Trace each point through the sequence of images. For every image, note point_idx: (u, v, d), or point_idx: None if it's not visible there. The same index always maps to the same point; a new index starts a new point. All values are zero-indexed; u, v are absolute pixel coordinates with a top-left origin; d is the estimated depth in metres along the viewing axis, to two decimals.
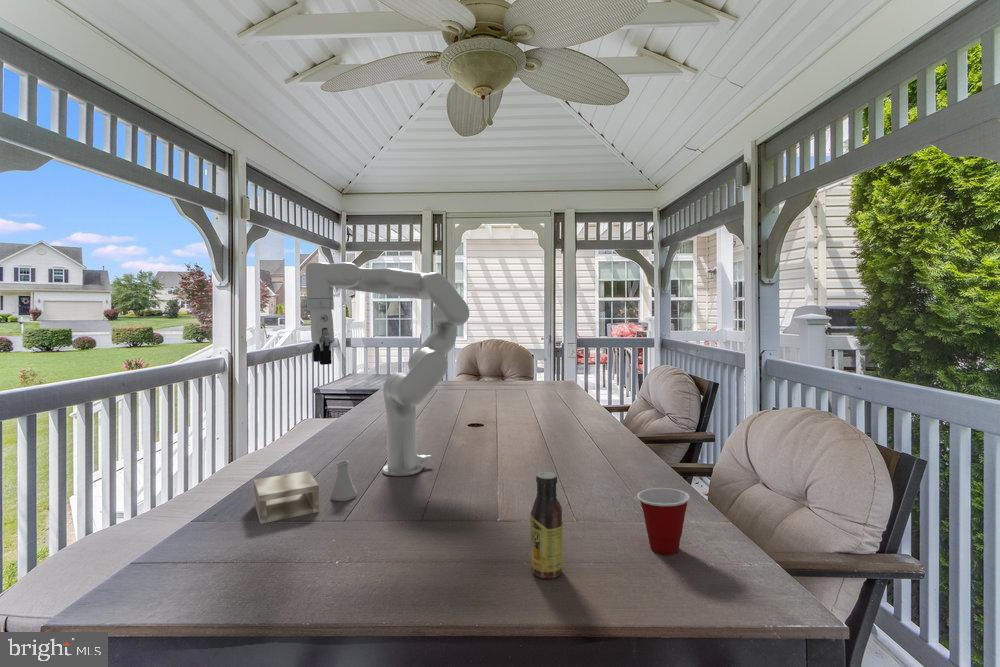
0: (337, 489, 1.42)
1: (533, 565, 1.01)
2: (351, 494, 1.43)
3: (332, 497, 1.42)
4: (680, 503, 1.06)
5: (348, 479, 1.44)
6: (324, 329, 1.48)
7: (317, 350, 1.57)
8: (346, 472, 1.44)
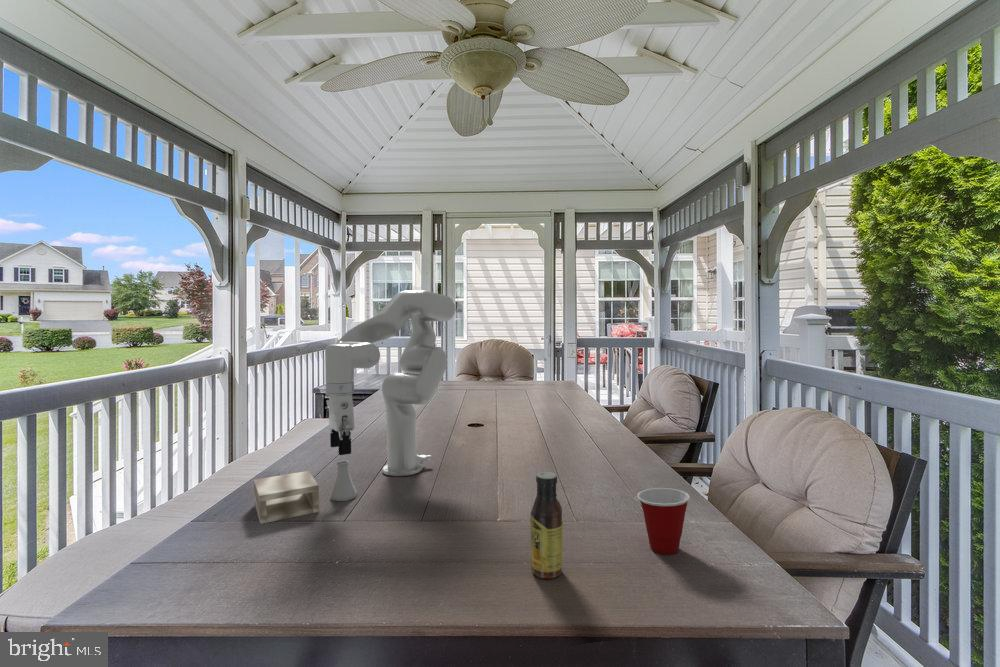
0: (337, 489, 1.42)
1: (533, 565, 1.01)
2: (351, 494, 1.43)
3: (332, 497, 1.42)
4: (680, 503, 1.06)
5: (348, 479, 1.44)
6: (344, 417, 1.39)
7: (335, 435, 1.47)
8: (346, 472, 1.44)
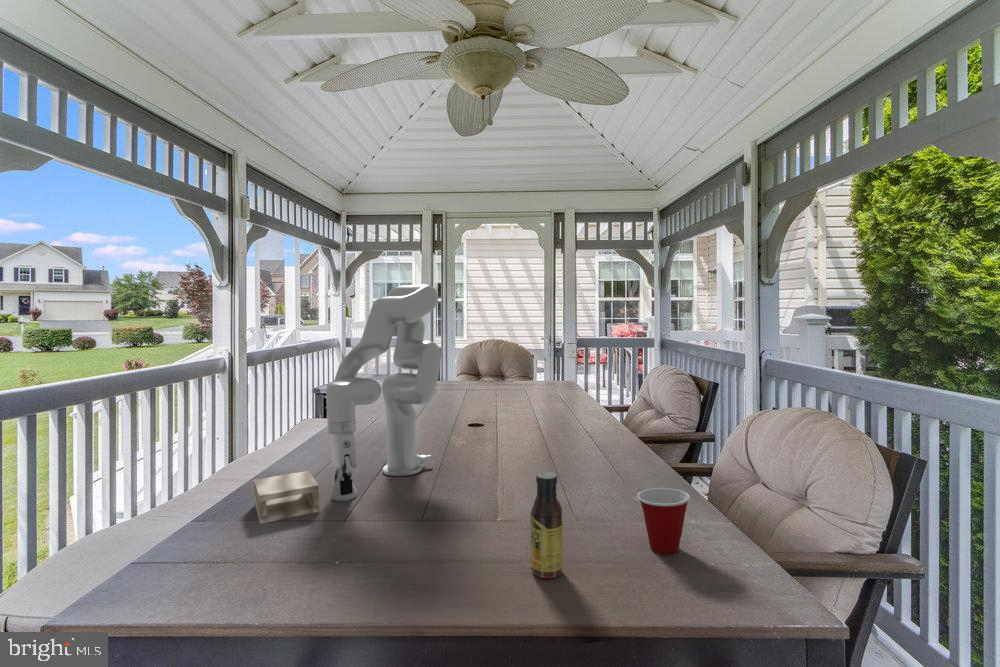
0: (337, 489, 1.42)
1: (533, 565, 1.01)
2: (351, 494, 1.43)
3: (332, 497, 1.42)
4: (680, 503, 1.06)
5: None
6: (346, 458, 1.40)
7: None
8: None
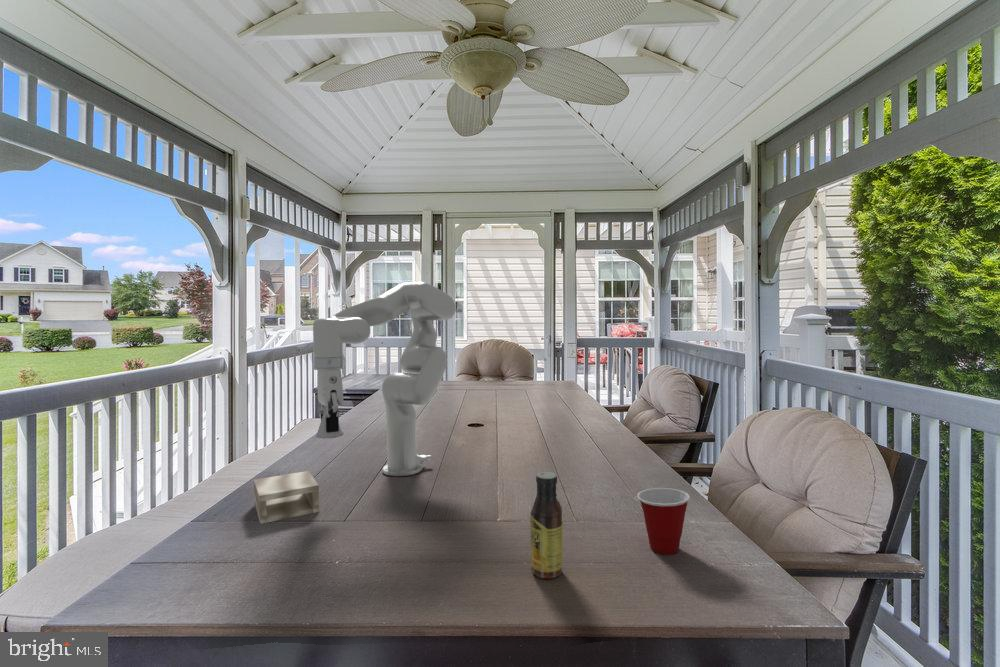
0: (323, 427, 1.40)
1: (533, 565, 1.01)
2: (337, 432, 1.40)
3: (318, 435, 1.40)
4: (680, 503, 1.06)
5: None
6: (333, 394, 1.37)
7: None
8: None
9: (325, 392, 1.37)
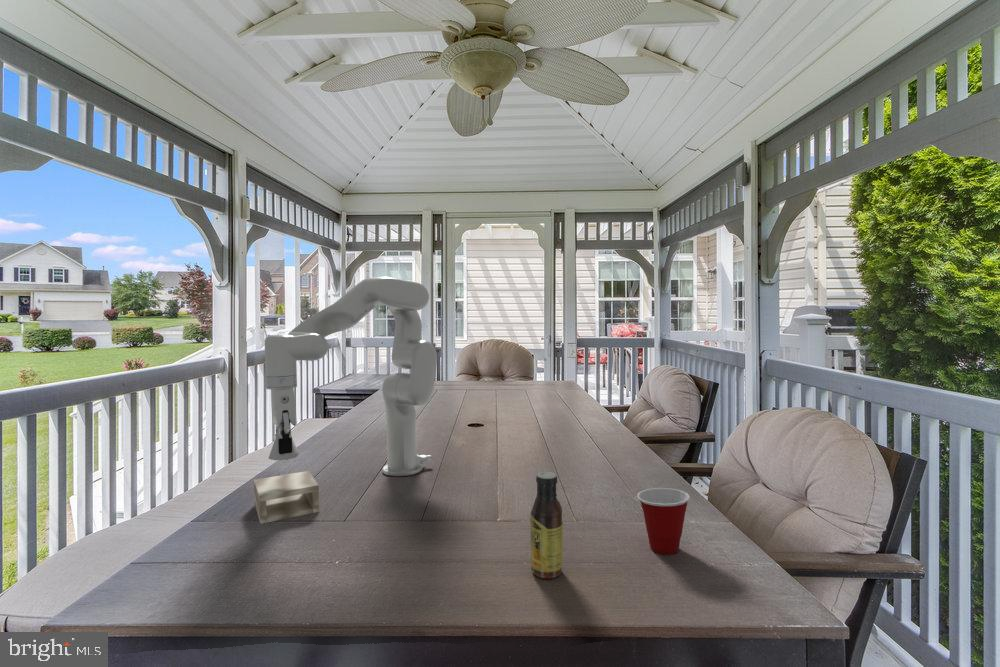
0: (276, 448, 1.34)
1: (533, 565, 1.01)
2: (291, 454, 1.35)
3: (270, 456, 1.34)
4: (680, 503, 1.06)
5: None
6: (284, 414, 1.31)
7: None
8: None
9: (276, 412, 1.31)
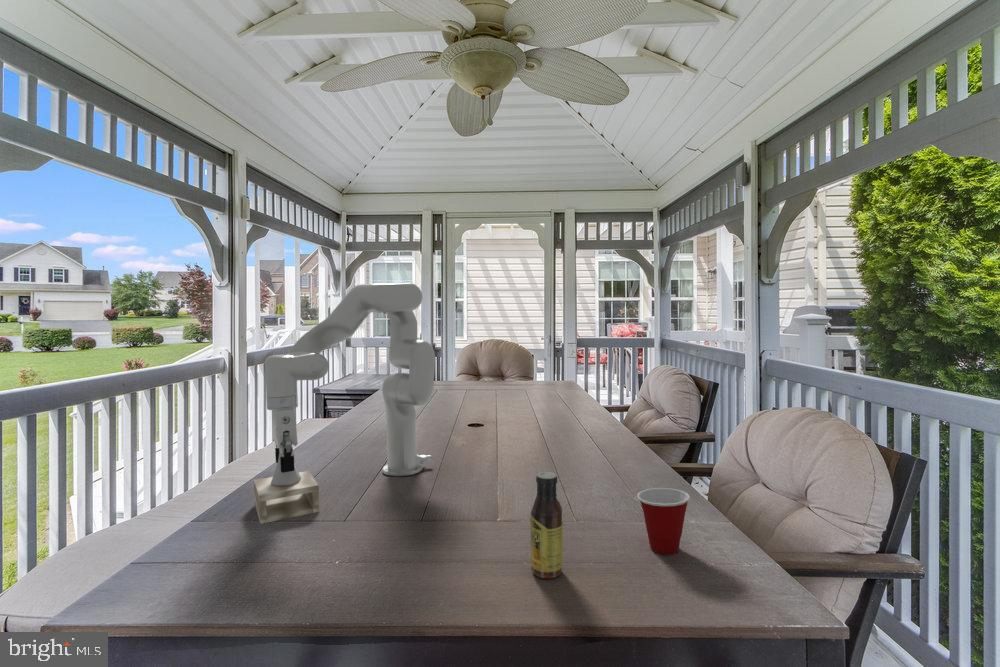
0: (278, 473, 1.34)
1: (533, 565, 1.01)
2: (293, 479, 1.35)
3: (272, 482, 1.35)
4: (680, 503, 1.06)
5: None
6: (285, 432, 1.31)
7: None
8: None
9: (277, 433, 1.31)
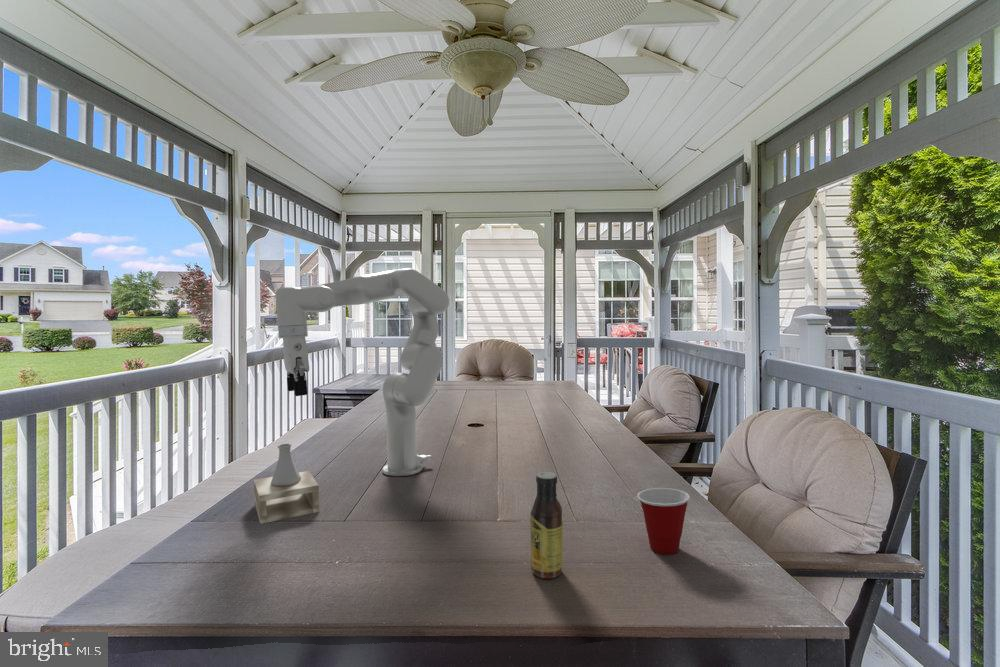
0: (278, 473, 1.34)
1: (533, 565, 1.01)
2: (293, 479, 1.35)
3: (272, 482, 1.35)
4: (680, 503, 1.06)
5: (290, 463, 1.36)
6: (298, 358, 1.40)
7: (291, 379, 1.48)
8: (288, 455, 1.36)
9: (290, 359, 1.39)
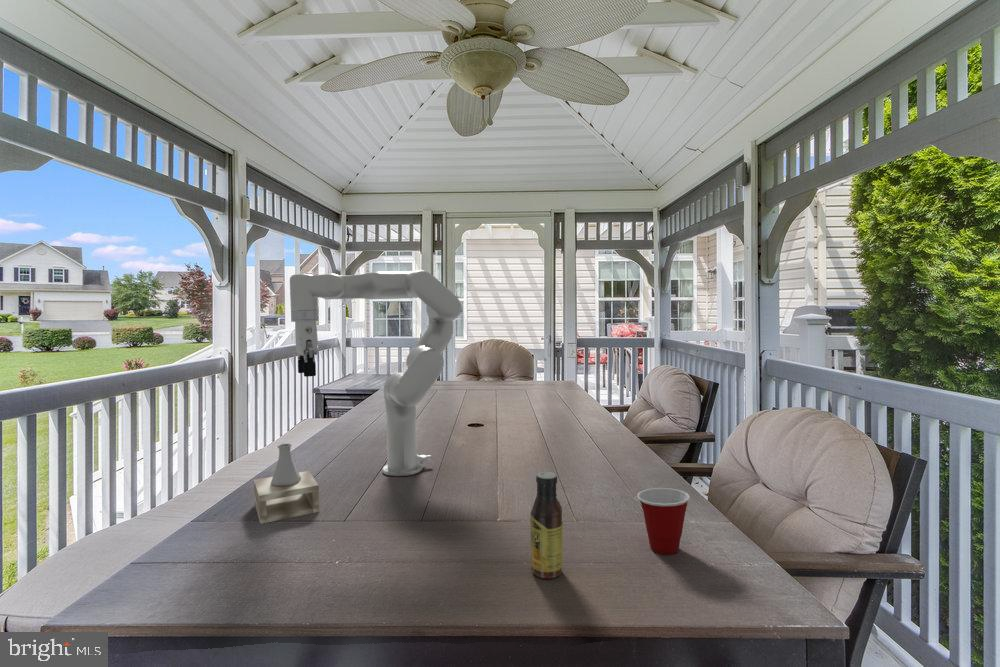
0: (278, 473, 1.34)
1: (533, 565, 1.01)
2: (293, 479, 1.35)
3: (272, 482, 1.35)
4: (680, 503, 1.06)
5: (290, 463, 1.36)
6: (308, 341, 1.48)
7: (302, 361, 1.57)
8: (288, 455, 1.36)
9: (301, 341, 1.48)
